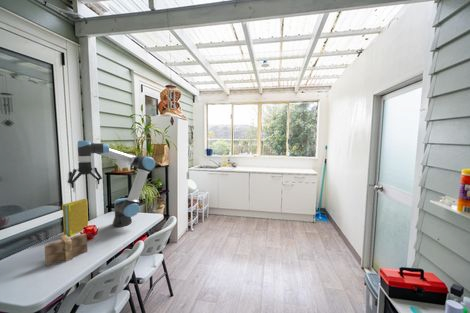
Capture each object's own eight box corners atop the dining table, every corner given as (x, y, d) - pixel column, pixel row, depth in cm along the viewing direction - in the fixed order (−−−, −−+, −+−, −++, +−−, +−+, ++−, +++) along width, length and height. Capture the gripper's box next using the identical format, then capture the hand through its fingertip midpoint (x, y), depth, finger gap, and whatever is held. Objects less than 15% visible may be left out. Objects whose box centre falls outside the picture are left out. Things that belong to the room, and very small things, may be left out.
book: (70, 236, 152) (69, 205, 151) (63, 235, 154) (62, 204, 152) (90, 227, 169) (89, 199, 167) (84, 226, 170) (83, 198, 169)
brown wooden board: (85, 250, 133) (85, 233, 133) (87, 251, 132) (86, 234, 131) (45, 264, 118) (44, 244, 117) (46, 266, 116) (45, 246, 115)
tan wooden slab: (66, 251, 131) (66, 234, 130) (72, 258, 123) (71, 240, 122) (61, 253, 129) (60, 236, 128) (66, 261, 121) (65, 242, 120)
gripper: (102, 160, 154) (103, 186, 155) (61, 162, 134) (62, 192, 135) (106, 160, 149) (107, 188, 151) (63, 163, 129) (65, 194, 131)
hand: (86, 190), depth 143 cm, fingers open, 13 cm apart
